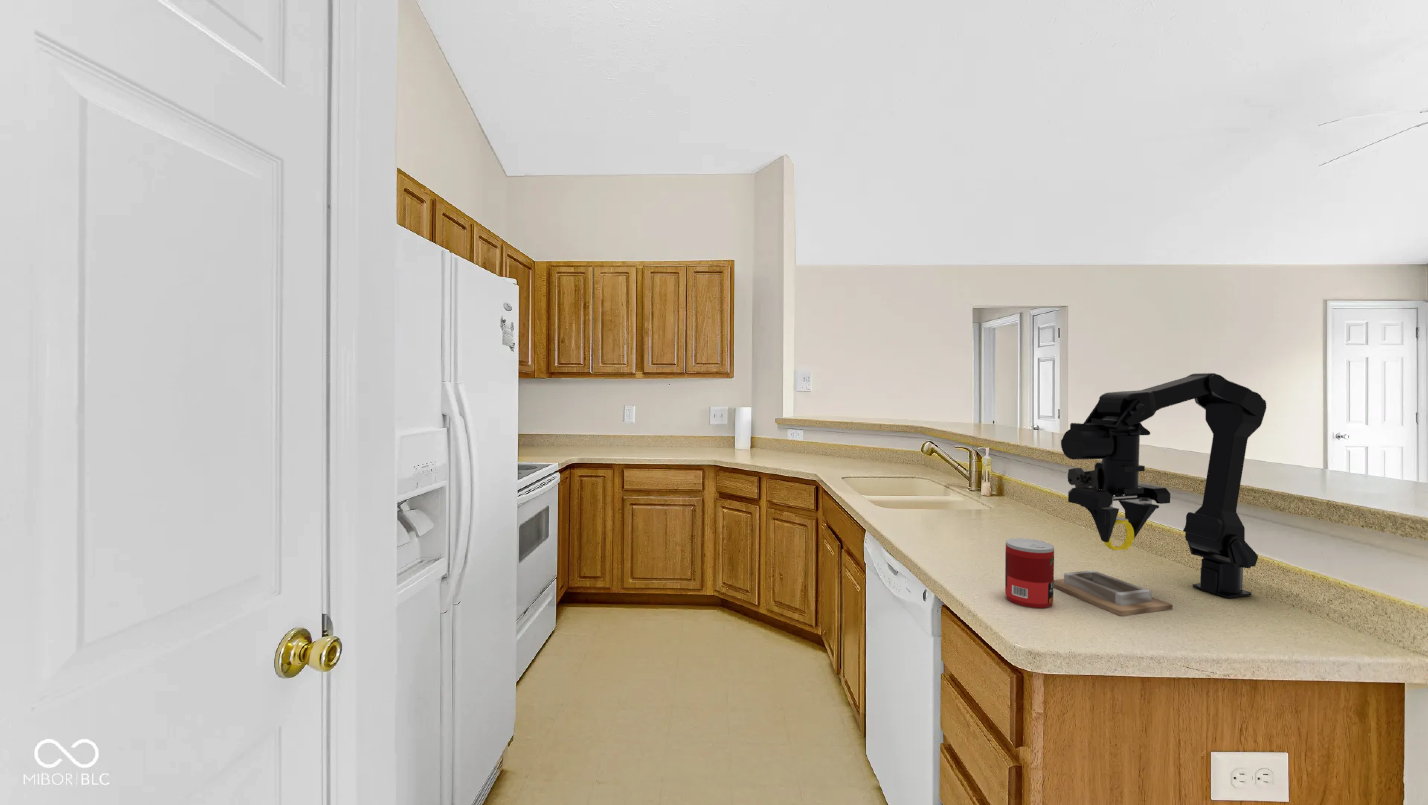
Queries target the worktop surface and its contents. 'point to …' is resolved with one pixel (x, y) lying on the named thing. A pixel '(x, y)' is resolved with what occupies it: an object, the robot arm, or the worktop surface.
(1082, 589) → the track board
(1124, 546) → the watch
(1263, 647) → the worktop surface
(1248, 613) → the worktop surface
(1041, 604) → the canned food
